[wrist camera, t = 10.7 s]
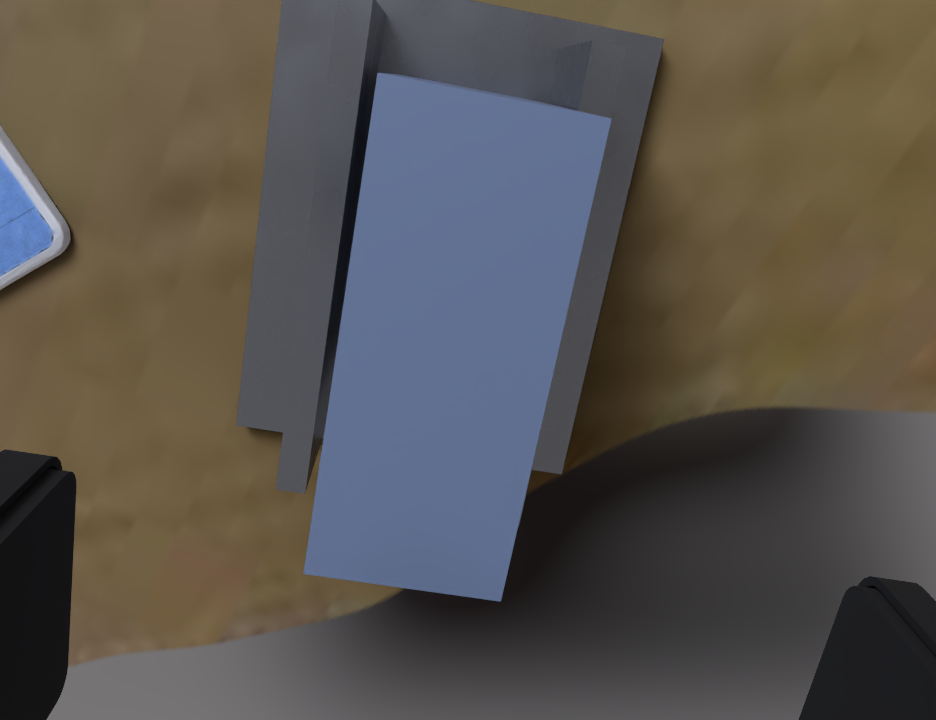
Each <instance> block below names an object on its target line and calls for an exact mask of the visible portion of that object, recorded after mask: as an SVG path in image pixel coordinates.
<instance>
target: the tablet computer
mask: <svg viewBox="0 0 936 720" xmlns="http://www.w3.org/2000/svg"><path fill="white" fill-rule="evenodd" d="M70 240H71V237H70V230H69V227H68V225H67V223H66V221H65V219H64V218H63V216H62V215H61V213H60V212H59V210H58V209H57V208H56V206H55V205H54V203H53V202H52V200H51V199H50V197H49V196H48V194H47V193H46V191H45V190H44V188H43V187H42V185H41V184H40V182H39V181H38V179H37V178H36V176H35V175H34V173H33V172H32V170H31V169H30V168H29V166H28V165H27V163H26V162H25V160H24V159H23V158H22V156H21V155H20V153H19V152H18V150H17V149H16V148H15V146H14V145H13V143H12V142H11V140H10V139H9V137H8V136H7V135H6V133H5V132H4V130H3V129H2V127H1V126H0V290H1V289H3V288H4V287H6V286H8V285H9V284H11V283H13V282H14V281H16V280H18V279H20V278H21V277H23V276H25V275H26V274H28V273H30V272H31V271H33V270H35V269H37V268H38V267H40V266H42V265H43V264H45V263H47V262H49V261H50V260H52V259H54V258H55V257H57V256H59V255H60V254H62V253H63V252H64V251H65V249H66V248H67V247H68V245H69V243H70Z"/></svg>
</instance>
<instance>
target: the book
mask: <svg viewBox="0 0 936 720" xmlns="http://www.w3.org/2000/svg"><path fill="white" fill-rule="evenodd" d="M610 124H611V118H607V117H603V116H598V115H594V114H590V113H585V112H581V111H577V110H572V109H568V108H564V107H559V106H555V105H550V104H546V103H542V102H537V101H533V100H528V99H523V98H518V97H513V96H508V95H502V94H497V93H492V92H487V91H482V90H477V89H472V88H467V87H462V86H457V85H452V84H446V83H441V82H436V81H431V80H426V79H421V78H416V77H411V76H406V75H398V74H387V73H377V79H376V86H375V93H374V100H373V107H372V113H371V120H370V127H369V134H368V140H367V147H366V154H365V161H364V168H363V174H362V181H361V188H360V195H359V202H358V208H357V215H356V222H355V229H354V235H353V242H352V249H351V256H350V263H349V269H348V276H347V283H346V290H345V296H344V303H343V310H342V317H341V324H340V330H339V337H338V344H337V351H336V357H335V364H334V371H333V378H332V385H331V391H330V398H329V405H328V412H327V418H326V425H325V432H324V439H323V446H322V452H321V459H320V466H319V473H318V479H317V486H316V493H315V500H314V507H313V513H312V520H311V527H310V534H309V541H308V547H307V554H306V561H305V568H304V574H308V575H315V576H323V577H330V578H337V579H344V580H351V581H358V582H365V583H372V584H379V585H386V586H394V587H401V588H408V589H415V590H422V591H430V592H437V593H444V594H451V595H457V596H465V597H472V598H479V599H486V600H494V601H501V599H502V594H503V590H504V586H505V581H506V577H507V573H508V568H509V564H510V559H511V555H512V551H513V546H514V542H515V538H516V533H517V529H518V525H519V520H520V516H521V512H522V507H523V503H524V499H525V494H526V490H527V485H528V481H529V477H530V472H531V468H532V464H533V459H534V455H535V451H536V446H537V442H538V438H539V433H540V429H541V424H542V420H543V416H544V411H545V407H546V403H547V398H548V394H549V390H550V385H551V381H552V377H553V372H554V368H555V363H556V359H557V355H558V350H559V346H560V342H561V337H562V333H563V329H564V324H565V320H566V316H567V311H568V307H569V302H570V298H571V294H572V289H573V285H574V281H575V276H576V272H577V268H578V263H579V259H580V255H581V250H582V246H583V241H584V237H585V233H586V228H587V224H588V220H589V215H590V211H591V207H592V202H593V198H594V194H595V189H596V185H597V180H598V176H599V172H600V167H601V163H602V159H603V154H604V150H605V146H606V141H607V137H608V133H609V128H610Z"/></svg>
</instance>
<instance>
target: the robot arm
mask: <svg viewBox="0 0 936 720" xmlns="http://www.w3.org/2000/svg"><path fill="white" fill-rule="evenodd" d="M75 503H76V478H75V475H74V473H73V472H69V471H62V466H61V462H60V460H59V459H58V458H57V457H53V456H46V455H39V454H32V453H26V452H19V451H12V450H3V451H1V452H0V720H46V719H47V718H48V716H49V714H50V713H51V711H52V709H53V708H54V706H55V704H56V703H57V701H58V699H59V697H60V695H61V692H62V690H63V687H64V683H65V679H66V675H67V669H68V653H69V631H70V610H71V588H72V567H73V546H74V524H75ZM799 720H936V601H935V600H934V599H933V598H932V597H931V596H930V595H929V594H928V593H927V592H926V591H925V590H924V589H923V588H922V587H921V586H919V585H918V584H917V583H911V582H905V581H898V580H891V579H884V578H877V577H871V576H870V577H867V578H864V579H863V580H862V581H861V582H860V583H859V585H858V586H853V587H850V588H849V589H848V590H847V591H846V593H845V595H844V597H843V599H842V602H841V604H840V607H839V610H838V613H837V616H836V618H835V621H834V624H833V626H832V629H831V632H830V635H829V638H828V640H827V643H826V646H825V649H824V651H823V654H822V657H821V660H820V662H819V665H818V668H817V671H816V673H815V676H814V679H813V682H812V685H811V687H810V690H809V693H808V695H807V698H806V701H805V704H804V706H803V709H802V712H801V715H800V717H799Z"/></svg>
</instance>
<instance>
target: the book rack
mask: <svg viewBox="0 0 936 720" xmlns="http://www.w3.org/2000/svg"><path fill="white" fill-rule="evenodd" d="M663 42H664V39H661V38H656V37H651V36H646V35H641V34H636V33H631V32H626V31H621V30H616V29H611V28H606V27H601V26H596V25H591V24H586V23H581V22H576V21H571V20H566V19H561V18H556V17H551V16H546V15H541V14H536V13H531V12H526V11H521V10H516V9H511V8H506V7H501V6H496V5H491V4H486V3H481V2H476V1H471V0H282V5H281V15H280V24H279V33H278V43H277V52H276V61H275V71H274V80H273V89H272V98H271V108H270V117H269V126H268V136H267V145H266V154H265V164H264V173H263V182H262V192H261V201H260V210H259V219H258V229H257V238H256V247H255V257H254V266H253V275H252V285H251V294H250V303H249V313H248V322H247V331H246V340H245V350H244V359H243V368H242V378H241V387H240V396H239V406H238V415H237V424H236V425H237V426H243V427H250V428H257V429H263V430H270V431H277V432H283V436H282V444H281V452H280V460H279V468H278V476H277V484H276V490H283V491H290V492H297V493H304V494H305V492H306V489H307V486H308V483H309V480H310V476H311V473H312V470H313V467H314V463H315V460H316V457H317V454H318V450H319V447H320V444H321V441H322V438H323V439H324V432H325V425H326V418H327V412H328V405H329V398H330V391H331V385H332V378H333V371H334V364H335V357H336V351H337V344H338V337H339V330H340V324H341V317H342V310H343V303H344V296H345V290H346V283H347V276H348V269H349V263H350V256H351V249H352V242H353V235H354V229H355V222H356V215H357V208H358V202H359V195H360V188H361V181H362V174H363V168H364V161H365V154H366V147H367V140H368V134H369V127H370V120H371V113H372V107H373V100H374V93H375V86H376V79H377V73H387V74H398V75H406V76H411V77H416V78H421V79H426V80H431V81H436V82H441V83H446V84H452V85H457V86H462V87H467V88H472V89H477V90H482V91H487V92H492V93H497V94H502V95H508V96H513V97H518V98H523V99H528V100H533V101H537V102H542V103H546V104H550V105H555V106H559V107H564V108H568V109H572V110H577V111H581V112H585V113H590V114H594V115H598V116H603V117H607V118H611V124H610V128H609V133H608V137H607V141H606V146H605V150H604V154H603V159H602V163H601V167H600V172H599V176H598V180H597V185H596V189H595V194H594V198H593V202H592V207H591V211H590V215H589V220H588V224H587V228H586V233H585V237H584V241H583V246H582V250H581V255H580V259H579V263H578V268H577V272H576V276H575V281H574V285H573V289H572V294H571V298H570V302H569V307H568V311H567V316H566V320H565V324H564V329H563V333H562V337H561V342H560V346H559V350H558V355H557V359H556V363H555V368H554V372H553V377H552V381H551V385H550V390H549V394H548V398H547V403H546V407H545V411H544V416H543V420H542V424H541V429H540V433H539V438H538V442H537V446H536V451H535V455H534V459H533V464H532V468H531V470H536V471H543V472H549V473H556V474H562V471H563V467H564V462H565V458H566V454H567V450H568V445H569V441H570V437H571V433H572V428H573V424H574V420H575V416H576V411H577V407H578V403H579V399H580V394H581V390H582V386H583V382H584V377H585V373H586V369H587V365H588V360H589V356H590V352H591V348H592V343H593V339H594V335H595V331H596V326H597V322H598V318H599V314H600V309H601V305H602V301H603V297H604V292H605V288H606V284H607V280H608V275H609V271H610V267H611V263H612V258H613V254H614V250H615V246H616V241H617V237H618V233H619V229H620V225H621V220H622V216H623V212H624V208H625V203H626V199H627V195H628V191H629V186H630V182H631V178H632V174H633V169H634V165H635V161H636V157H637V152H638V148H639V144H640V140H641V135H642V131H643V127H644V123H645V118H646V114H647V110H648V106H649V101H650V97H651V93H652V89H653V84H654V80H655V76H656V72H657V67H658V63H659V59H660V55H661V50H662V46H663ZM530 475H531V472H530ZM529 479H530V477H529ZM528 484H529V481H528ZM527 488H528V485H527ZM526 493H527V490H526ZM525 497H526V494H525ZM524 501H525V499H524ZM523 506H524V503H523ZM522 511H523V507H522ZM521 515H522V512H521ZM520 520H521V516H520ZM520 520H519V524H520Z"/></svg>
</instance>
